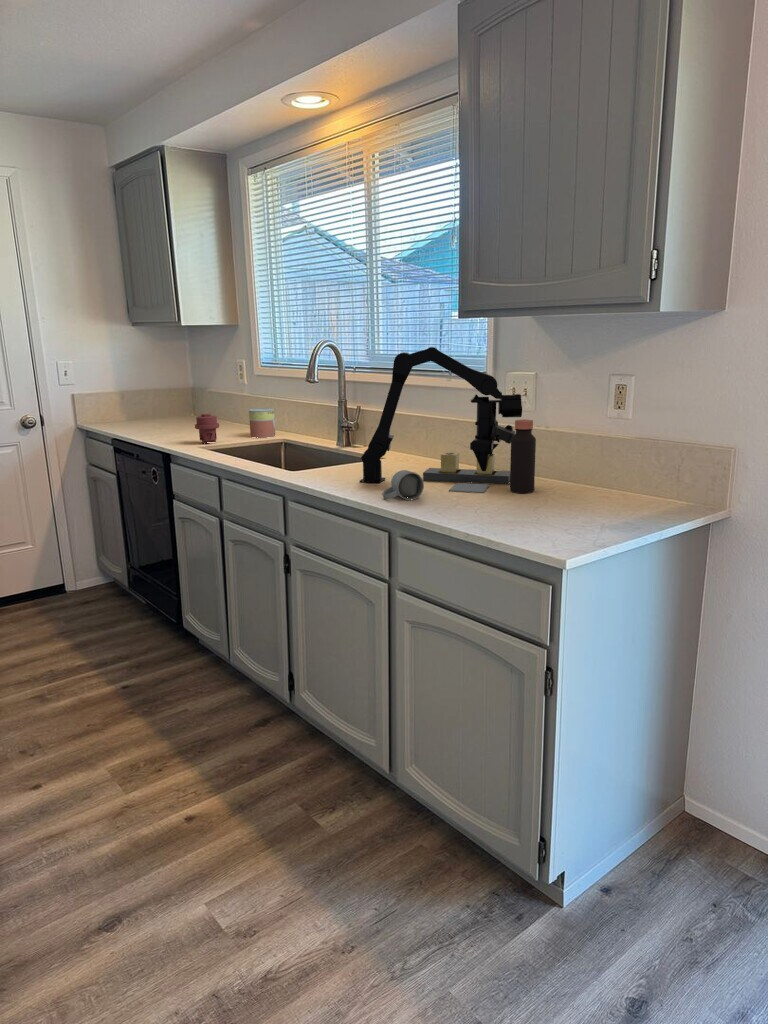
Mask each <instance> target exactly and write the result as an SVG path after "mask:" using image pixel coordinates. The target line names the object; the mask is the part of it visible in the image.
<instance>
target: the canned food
mask: <svg viewBox="0 0 768 1024" xmlns="http://www.w3.org/2000/svg"><path fill="white" fill-rule="evenodd" d="M248 415H249V416H248V419H249V431H250V436H251V437H258V438H257V439H268V438H267V437H271V438H275V437H276V436H277V435H276V422H275V419H276V418H275V417H276V416H275V408H251V409H248ZM275 435H276V436H275ZM274 436H275V437H274ZM251 437H250V438H251Z"/></svg>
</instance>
